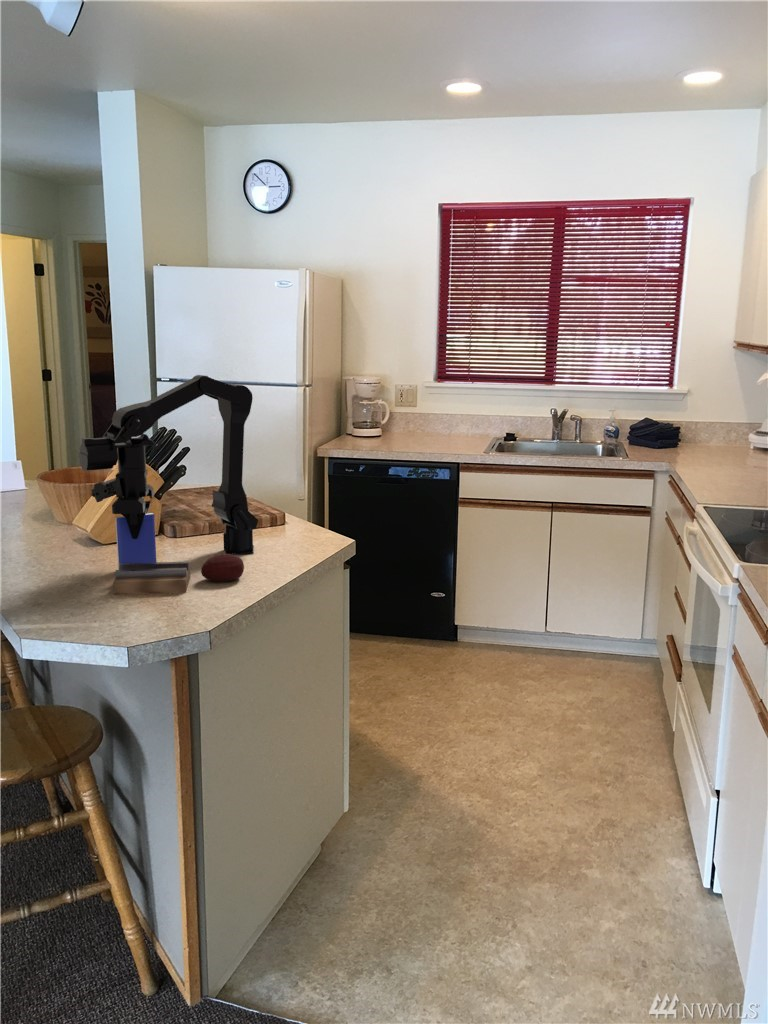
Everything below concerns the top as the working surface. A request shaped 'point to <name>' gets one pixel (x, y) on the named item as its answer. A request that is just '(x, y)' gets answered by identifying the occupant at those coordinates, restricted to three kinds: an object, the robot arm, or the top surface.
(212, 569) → the potato
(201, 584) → the top surface
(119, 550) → the hard drive
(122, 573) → the drive stand
